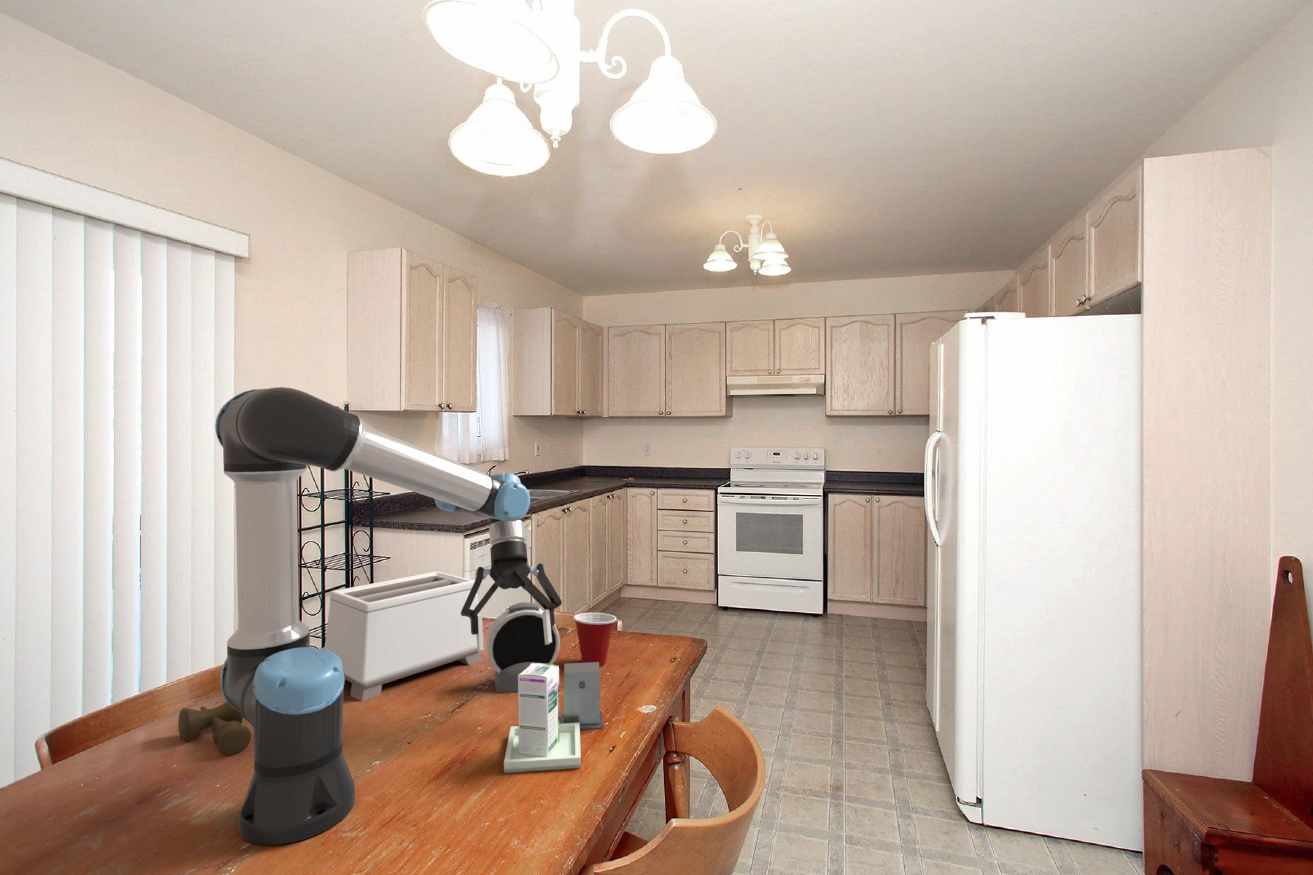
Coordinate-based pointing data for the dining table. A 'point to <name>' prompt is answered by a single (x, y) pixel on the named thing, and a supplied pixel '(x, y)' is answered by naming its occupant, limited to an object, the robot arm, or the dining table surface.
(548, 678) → the syrup box
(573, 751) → the tray
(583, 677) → the gray phone stand
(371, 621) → the toaster
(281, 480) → the robot arm
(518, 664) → the alarm clock
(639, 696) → the dining table surface
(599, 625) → the plastic cup
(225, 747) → the kendama
